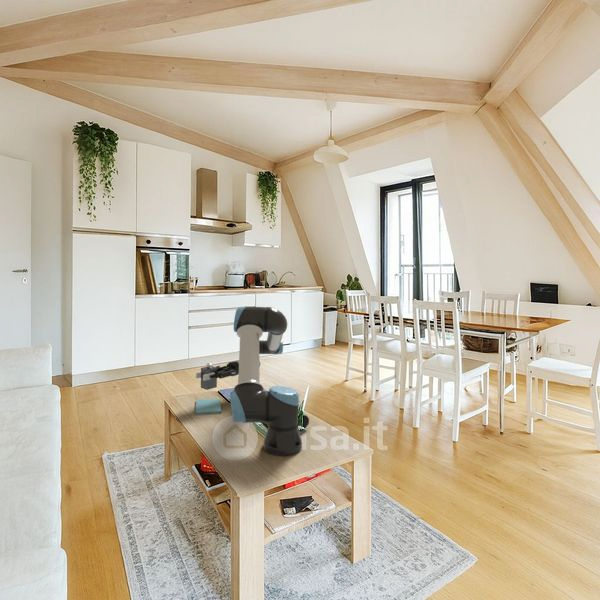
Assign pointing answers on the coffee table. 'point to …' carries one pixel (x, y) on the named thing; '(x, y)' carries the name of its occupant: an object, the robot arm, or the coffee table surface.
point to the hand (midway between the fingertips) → (200, 376)
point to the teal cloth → (208, 406)
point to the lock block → (211, 382)
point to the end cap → (305, 421)
